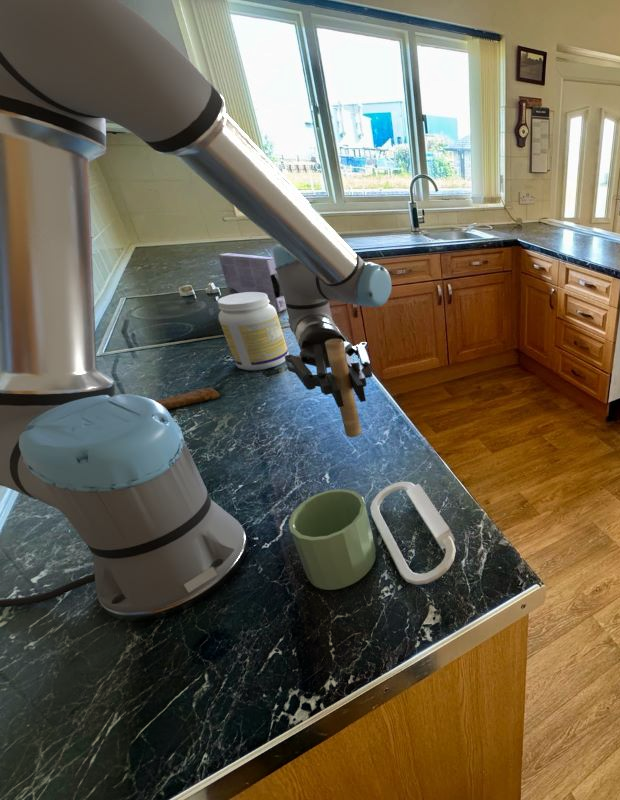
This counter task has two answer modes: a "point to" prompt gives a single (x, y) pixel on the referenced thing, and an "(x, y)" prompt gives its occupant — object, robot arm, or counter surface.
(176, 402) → the brown rounded bar
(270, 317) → the supplement tub
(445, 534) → the white oval ring
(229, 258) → the cake pan box
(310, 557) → the cup
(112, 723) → the counter surface
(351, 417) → the stick
